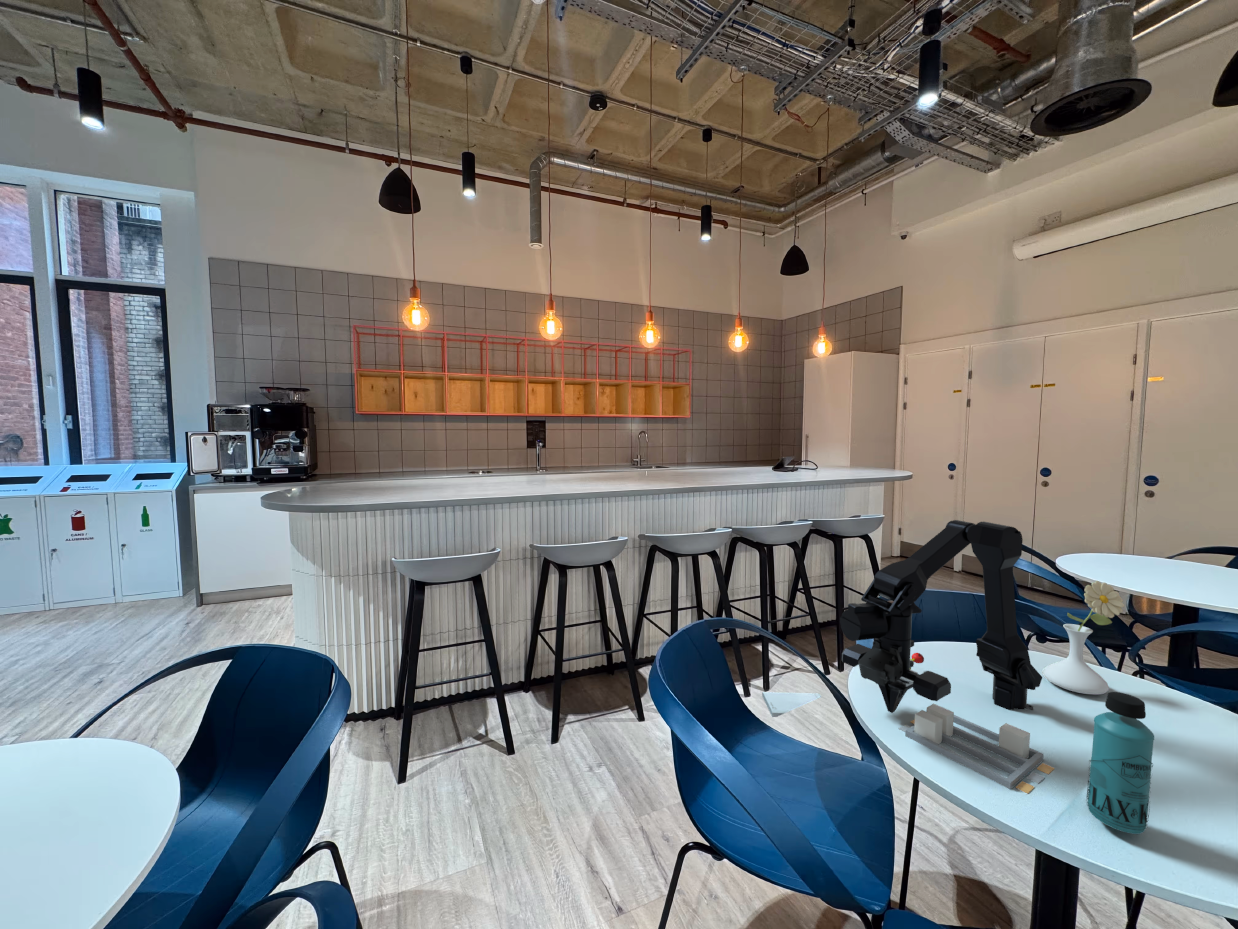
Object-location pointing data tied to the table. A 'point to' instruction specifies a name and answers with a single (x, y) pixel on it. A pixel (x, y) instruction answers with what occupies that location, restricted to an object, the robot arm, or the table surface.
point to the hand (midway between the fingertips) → (891, 711)
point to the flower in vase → (1074, 668)
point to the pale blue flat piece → (786, 701)
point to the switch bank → (985, 755)
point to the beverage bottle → (1121, 765)
